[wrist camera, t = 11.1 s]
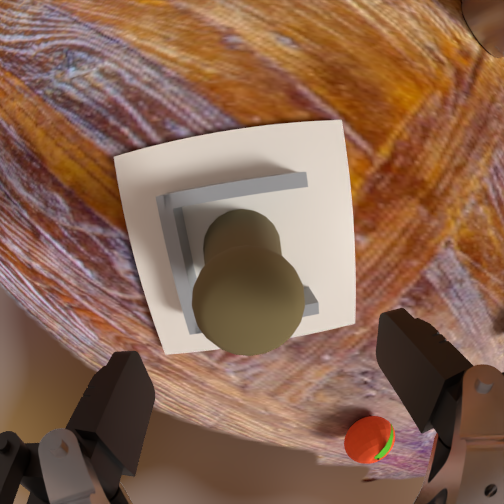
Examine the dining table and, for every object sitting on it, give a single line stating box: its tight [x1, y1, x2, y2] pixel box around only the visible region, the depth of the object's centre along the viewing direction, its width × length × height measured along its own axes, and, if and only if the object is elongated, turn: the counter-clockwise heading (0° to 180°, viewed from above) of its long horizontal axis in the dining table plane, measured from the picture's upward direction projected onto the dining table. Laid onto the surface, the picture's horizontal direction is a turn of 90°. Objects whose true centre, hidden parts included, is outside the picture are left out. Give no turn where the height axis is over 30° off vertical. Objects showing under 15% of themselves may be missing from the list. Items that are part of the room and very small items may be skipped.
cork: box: [192, 209, 305, 356], centre depth 16 cm, size 6×6×11 cm
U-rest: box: [114, 120, 356, 355], centre depth 21 cm, size 18×18×4 cm
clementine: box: [344, 416, 395, 463], centre depth 27 cm, size 8×7×7 cm
